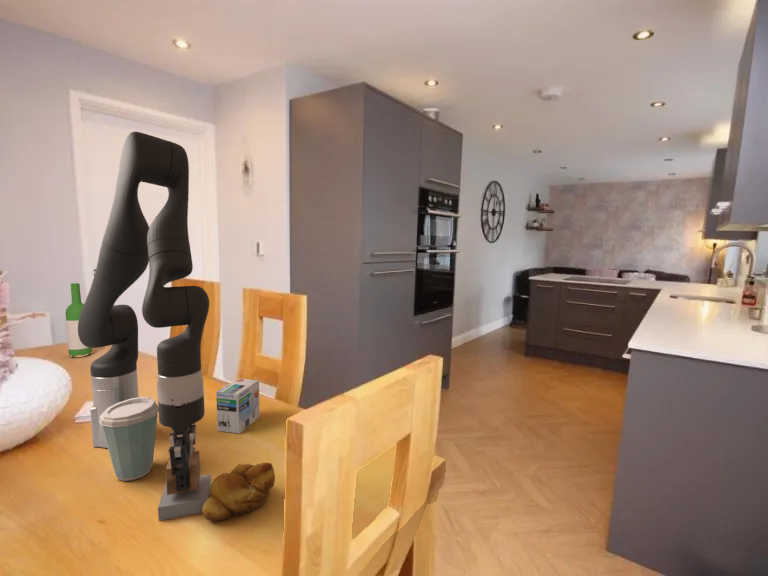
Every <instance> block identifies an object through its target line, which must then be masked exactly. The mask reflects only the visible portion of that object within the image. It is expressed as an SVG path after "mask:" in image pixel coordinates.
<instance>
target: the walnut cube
mask: <svg viewBox="0 0 768 576" xmlns="http://www.w3.org/2000/svg"><path fill="white" fill-rule="evenodd" d="M200 453H201V452H200V450H195V451H193V455H192V456H191V457H190V489H189V490H185V491H177V490H176V475H174V476H172V473H171V472H172V469H171V461H170V457H169V459H168V462H167V464H166V467H165V479H166V482H167V495H170V494H176V493H182V492H188V491H194V490H198V484H199V479H200V476H201V457H200ZM166 482H165V483H166Z"/></svg>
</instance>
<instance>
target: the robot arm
mask: <svg viewBox="0 0 768 576" xmlns="http://www.w3.org/2000/svg"><path fill="white" fill-rule="evenodd" d="M186 151H187V150H186V149H185V148H184V147H183V146H182V145H180V144H178V143H176V142H173V141H169V140H166V139H163V138H160V137H157V136H154V135H150V134H147V133H144V132H139V131H131V132H130V133H129V134H128V135H127V136H126V139H125V140H124V143H123V146H122V150H121V154H120V159H119V160H120V161H119V165H118V173H117V179H116V184H115V191H114V196H113V203H112V204H111V205H112V207H111V209H110V213H109V217H108V220H107V224H106V228H105V231H104V234H103V238H102V241H101V244H100V245H101V246H100V250H99V255H98V259H97V263H96V268H95V271H94V276H93V280H92V282H91V286H90V289H89V291H88V294H87V296H86V298H85V302H84V303H83V304H84V306H83V308H82V311H81V314H80V317H79V321H78V336H79V339H80V341H81V343H82V344H83V345H84V346H86V347H89V348H92V349H93V348H94V349H95V348H103V347H104V348H105V347H108V346H111V347H110V348H109V350H107V352H106V353H104V354H103V355H101V356H100V357H98V358H96V359H95V360H93V361H92V362H91V364H90V366H89V368H90V378H91V379H90V380H91V392H92V394H91V395H92V402H93V404H92V406H91V407H90V410H89V411H90V425H91V426H90V427H91V437H92V447H93V448H97V447H98V448H104V449H106V448H107V449H108V446H107V443H106V439H105V436H104V432H103V429H102V425H101V424H100V422H99V417H100V415H102V413H103V412H104V411H105V410H106V409H107V408H108V407H110V406H112V405H114V404H116V403H118V402H122V401H125V400H128V399H131V398H138V397H140V395H139V384H138V383H139V382H138V369H137V368H138V367H137V365H138V364H137V363H138V360H139V324H138V323H139V322H138V318H137V314H136V312H135V310H134V309H133V307H132V306H130V305H128V304H116V302H117V300H118V299H119V298H120V296H122V294H124V292H126V291H127V290H128V289H129V288H130V287H131V286H132V285H133V284H135V282H136V281H138V279H139V278H140V277H141V276H142V275H143V274H144V273H145V271H146V270H147V268H148V267H149V276H148V281H147V282H148V283H147V286H146V289H145V294H144V297H143V300H142V306H141V314H142V317H143V319H144V321H145V322H146V323H147V324H148V325H149V327H153V328H154V329H155V328H158V329H159V328H160V329H161V328H169V327H180V326H181V327H182V326H186V327H185V330H184V331H183V332H181V333H180V334H178V335H175V336H172V337H169V338H166V339H163V340H161V341H160V342H159V343H158V344H157V347H156V359H157V363H156V364H157V386H156V387H157V388H156V389H157V390H156V391H157V405H158V409H159V412H158V422H159V424H161V426H163V427H166V428H167V427H168V428H171V429H172V430H171V433H169V443H170V447H169V448H168V453H169V458H170V461H171V469H172V472H171V473H172V476H174V475H176V490H177V491H185V490H189V489H190V457H191V456H192V455H193V451H196V448H195V445H196V442H197V441H196V440H197V437H196V433H197V432H196V431H197V424H196V423H198V422H199V421H201V420H202V419H203V418H204V417H205V413H206V412H205V411H206V410H205V389H204V388H205V386H204V377H203V373H202V355H201V353H202V351H201V348H202V347H201V346H202V345H201V344H202V340H203V339H202V338H203V333H204V328H205V325H206V321H207V319H208V318H207V317H208V314H209V309H210V297H209V295H208V293H207V292H206V291H205V289H204V288H203V287H201V286H198V285H183V286H166V285H167V284H168V283H171V282H175V281H179V280H182V279H184V278H185V279H186V278H187V277H189V276H190V275H191V274H192V272H193V269H194V268H193V267H194V265H193V259H192V251H191V245H190V237H189V227H188V222H189V221H188V217H189V216H188V214H189V195H190V194H189V191H190V189H189V188H190V187H189V185H190V184H189V183H190V182H189V181H190V165H189V157H188V154H187V152H186ZM141 182H142V183H145V184H149V185H150V184H151V185H155V186H160V187H164V188H167V191H168V198H167V200H166V203H164V206H163V207H162V209H161V210H160V211H159V212H158V213H157V215H156V216H155V218H154V219H153V221H152V222H151V223H150V225H149V223H148V221H147V219H146V217H145V215H144V213H143V211H142V208H141V204H140V201H139V194H138V193H139V186H140V183H141ZM148 265H149V266H148ZM115 304H116V305H115Z"/></svg>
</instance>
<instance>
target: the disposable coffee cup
mask: <svg viewBox="0 0 768 576" xmlns="http://www.w3.org/2000/svg"><path fill="white" fill-rule="evenodd" d="M156 402H157V401H156V400H155V399H154V398H153V397H150V396H149V397H148V396H139V397H138V398H131V399H128V400H125V401H122V402H118V403H116V404H114V405H112V406H110V407H108V408H107V409H106V410H105V411H104V412H103V413H102V415H100V417H99V422H100V424H101V425H102V429H103V432H104V436H105V439H106V443H107V446H108V448H107V449H108V453H109V456H110V461H111V463H112V467H113V471H114V474H115V477H116V478H117V479H118V480H119V481H123V482H128V481H134V480H137V479H141V478H143V477H144V476H146V475H148V474H149V473H150V471H151V470H152V467H153V465H154V456H155V446H156V435H157V426H158V417H159V409H158V403H156Z"/></svg>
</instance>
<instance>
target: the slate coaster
mask: <svg viewBox="0 0 768 576" xmlns="http://www.w3.org/2000/svg"><path fill="white" fill-rule="evenodd" d="M211 483H212V474H205V475H200V479H199V484H198V490H194V491H188V492H182V493H176V494H170V495H167V482H165V485H164V487H163V491H162V493H161V494H162V495H161V497H160V500H159V503H158V506H157V514H158V521H164V520H170V519H174V518H180V517H185V516H192V515H195V514H201V513H202V514H203V512H202V508H203V505H204V503H205V502H206V500H207V498H209V496H210V486H211Z"/></svg>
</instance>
